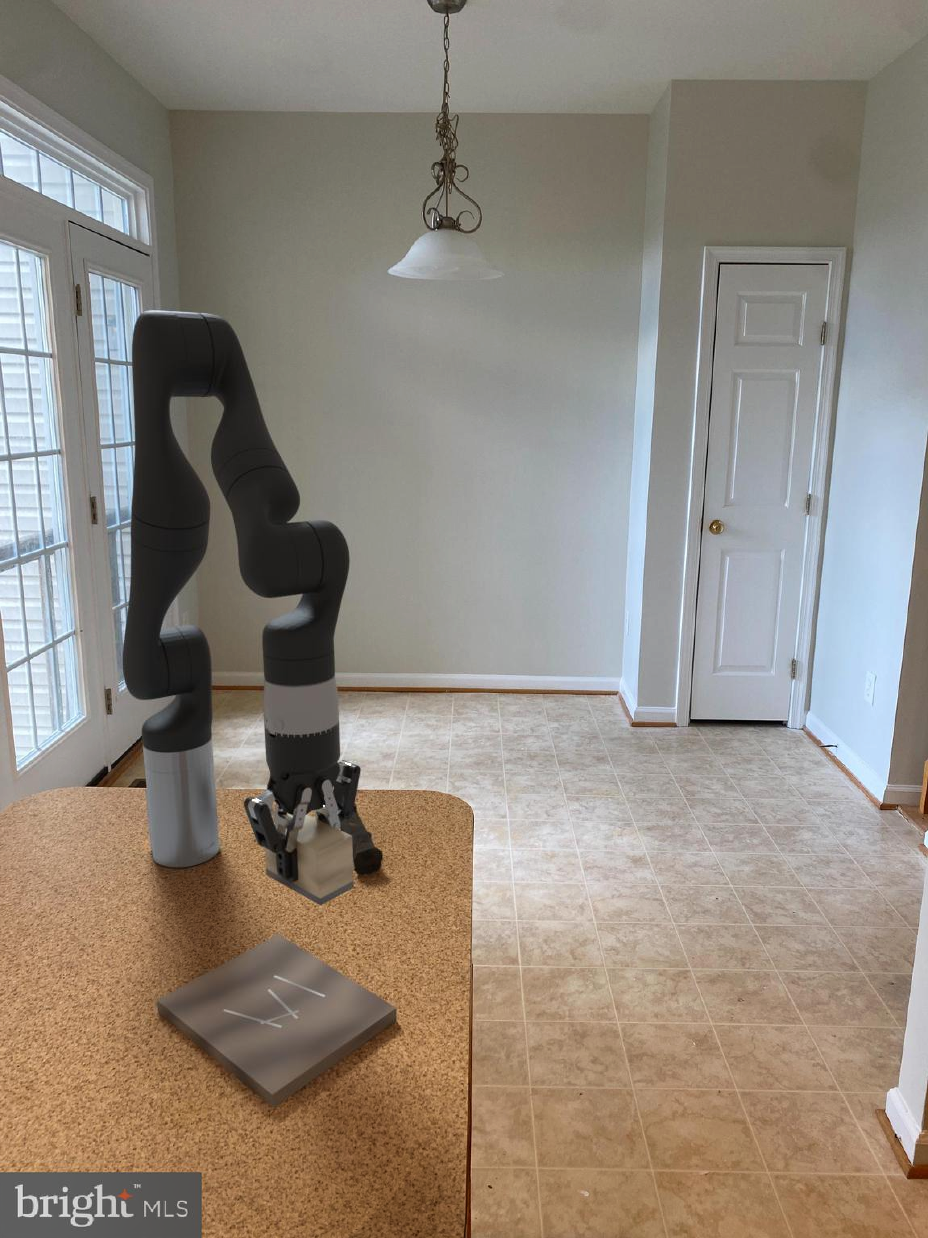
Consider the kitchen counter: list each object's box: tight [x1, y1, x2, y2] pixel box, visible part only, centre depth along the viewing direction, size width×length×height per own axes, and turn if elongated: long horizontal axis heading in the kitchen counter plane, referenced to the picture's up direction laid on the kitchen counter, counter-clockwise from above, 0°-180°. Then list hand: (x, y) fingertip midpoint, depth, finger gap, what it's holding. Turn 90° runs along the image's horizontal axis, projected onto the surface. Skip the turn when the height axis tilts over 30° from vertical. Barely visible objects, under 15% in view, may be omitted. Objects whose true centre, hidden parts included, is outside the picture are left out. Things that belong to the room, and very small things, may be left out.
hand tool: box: [339, 796, 384, 876], centre depth 131 cm, size 19×4×5 cm, turn 17°
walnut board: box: [156, 933, 398, 1109], centre depth 95 cm, size 20×16×2 cm
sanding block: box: [264, 813, 355, 906], centre depth 95 cm, size 9×4×6 cm, turn 49°
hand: (308, 869), depth 95 cm, fingers closed on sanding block, 4 cm apart
